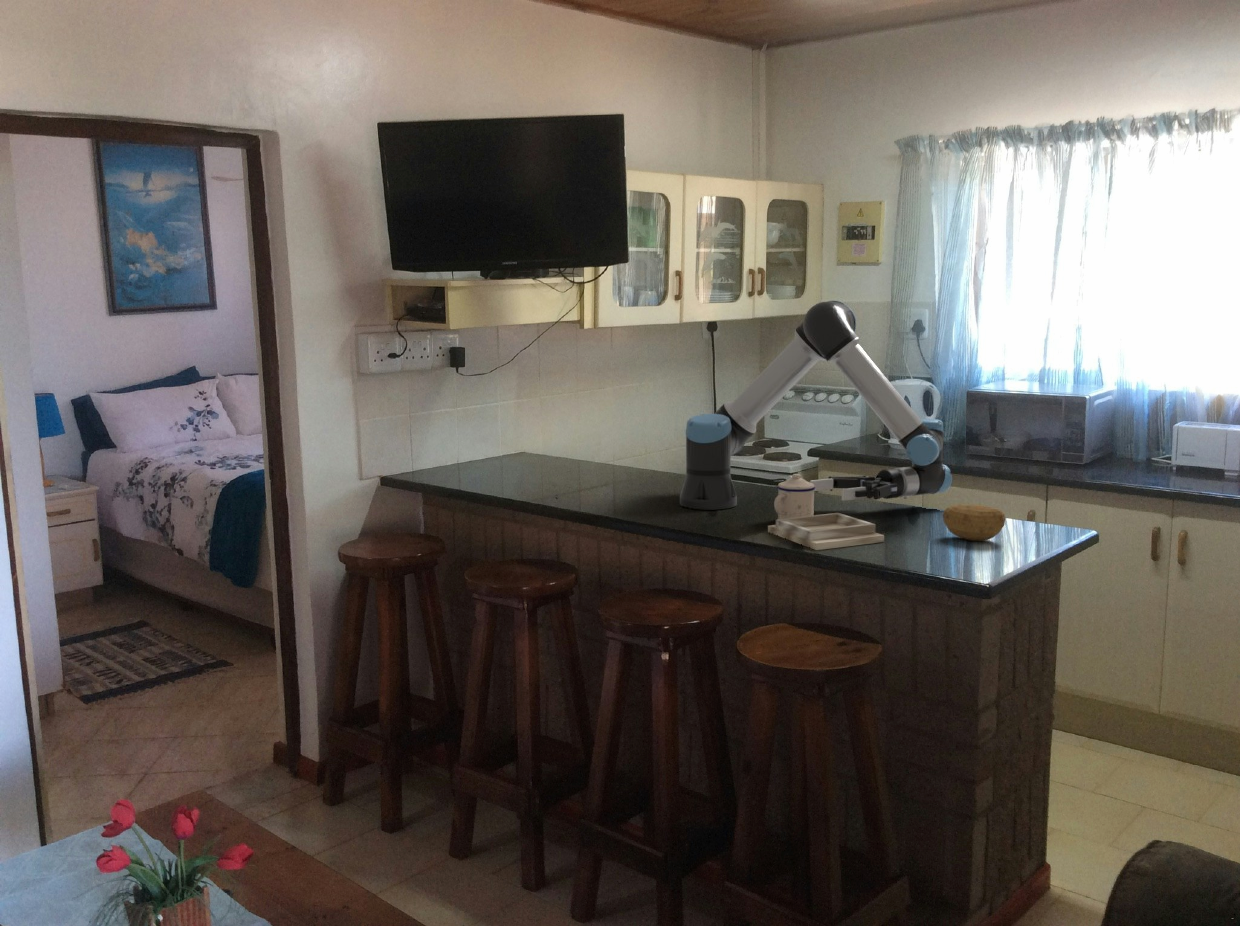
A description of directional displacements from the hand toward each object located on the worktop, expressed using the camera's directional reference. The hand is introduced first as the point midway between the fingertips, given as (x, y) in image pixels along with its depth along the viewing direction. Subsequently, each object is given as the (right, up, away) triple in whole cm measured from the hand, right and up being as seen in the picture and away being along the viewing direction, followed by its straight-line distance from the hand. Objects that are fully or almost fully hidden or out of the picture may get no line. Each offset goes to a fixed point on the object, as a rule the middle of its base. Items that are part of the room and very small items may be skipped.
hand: (826, 490), depth 267 cm
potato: (+29, -11, -23) cm, 38 cm away
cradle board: (-4, -10, -19) cm, 22 cm away
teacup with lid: (-9, -8, -3) cm, 12 cm away
